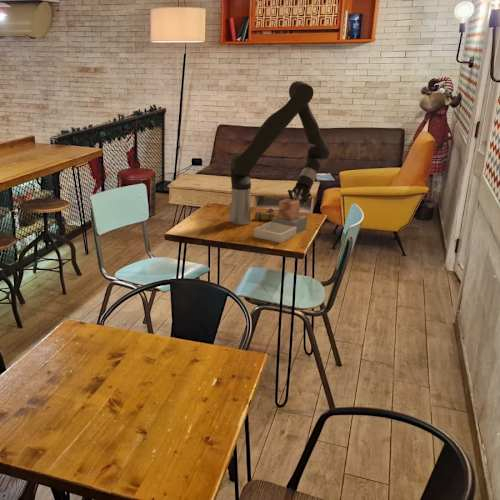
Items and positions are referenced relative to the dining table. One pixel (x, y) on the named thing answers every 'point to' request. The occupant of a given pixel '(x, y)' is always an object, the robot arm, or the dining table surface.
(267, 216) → the gavel
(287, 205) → the terracotta block
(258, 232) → the box
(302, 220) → the grey platform
